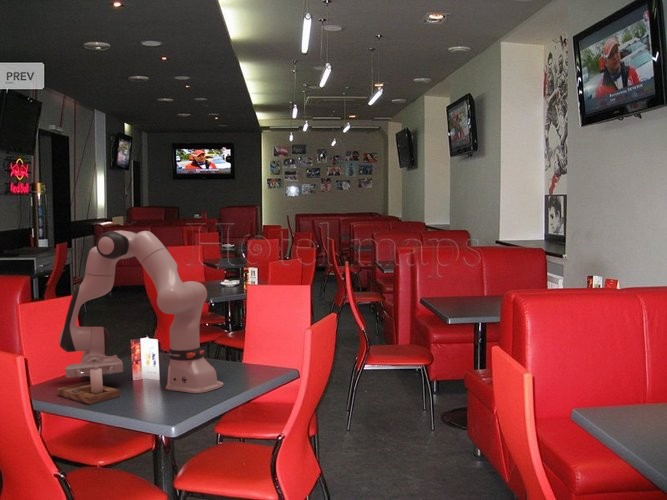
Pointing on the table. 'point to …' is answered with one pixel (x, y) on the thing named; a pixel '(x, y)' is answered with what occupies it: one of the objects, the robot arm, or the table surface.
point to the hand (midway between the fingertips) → (95, 373)
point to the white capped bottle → (96, 380)
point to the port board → (87, 393)
